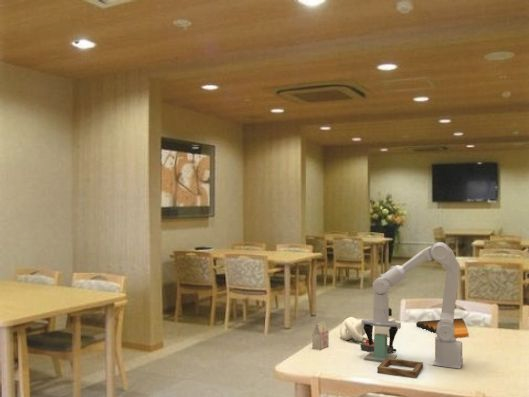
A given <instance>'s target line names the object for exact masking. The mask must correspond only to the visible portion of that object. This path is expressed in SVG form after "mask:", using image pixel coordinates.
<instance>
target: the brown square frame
mask: <svg viewBox="0 0 529 397" xmlns="http://www.w3.org/2000/svg"><path fill="white" fill-rule="evenodd" d="M390 366H394V367H390ZM395 366H396V367H397V368H396V367H395ZM398 367H402V368H398ZM403 367H404V368H403ZM405 368H410V369H405ZM423 368H424V362H422V361H416V360H415V361H413V360H407V359H399V358H395V359H392V358H386V359H385V360H384V361H383V362H380V363H379V365H377V374H382V375H388V376H389V375H391V376H396V377H405V378H410V379H411V378H413V379H417V377H418V376H419V375H420V373H421V372H422V370H423ZM411 369H412V370H411Z"/></svg>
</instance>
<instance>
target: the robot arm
mask: <svg viewBox="0 0 529 397" xmlns="http://www.w3.org/2000/svg"><path fill="white" fill-rule="evenodd" d="M433 259H434V260H435V261H436V262H438V263H439V264H440V265H442V267H443V268H444V269H445V271H446V273H445V282H444V287H443V288H444V290H443V295H442V305H441V312H440V318H439V320H440V321H439V322H438V323H437V329H436V334H435V335H436V336H435V337H434V344H435V345H434V346H435V348H434V353H435V354H434V361H433V363H432V366H435V367H436V366H437V367H443V368H452V369H461V367H462V365H463V361H464V359H463V341H459V340H457V338H455V337H454V335H455V331H454V329H455V327H454V324H453V320H454V319H455V311H456V310H455V309H456V302H457V301H456V300H457V294H458V286H459V279H460V278H459V277H460V270H461V266H460V263H459V261H458V259H457V257H456V255H455V254H454V251H453V250H452V249H451V247H449V245H448V244H446V243H445V242H442V241H437V242H436V243H435V242H434V244H432V245H430V246H428V247H425V248H424V249H423V250H421V251H419V252H418V253H417V254H415V255H413V256H412V257H411V258H410V259H409V260H407V261H406V262H405V263H403V264H402V265H399V264H396V265H392V266H391V267H390V269H389V270H387V271H386V272H385V273H381V274H379V276H380V277H377V278H376V279H375V280H374V281H373V283H372V289H373V293H372V294H373V297H372V319H369V318H368V319H367V318H366V319H365V318H362V319H360V320H361V325H364V327H363V328H364V330H365V332H366V333H365V335H366V337H367V340H368V341H369V345H372V342H374V341H373V340H374V339H373V333H374V332H373V331H374V330H373V329H374V326H380V327H390V329H389V337H388V338H389V341H388V342H389V343H388V345H389V347H390V348H392V346H393V344H394V341H395V337H396V335H397V333H398V331H399V330H400V329H401V327H402V325H401V324H402V323H401V322H397V321H395V322H392V321H389V308H390V306H389V304H390V303H389V300H390V298H389V289H390V288H393V287H394V286H396V285H397V284H399V283H400V282H402V281H403V280H405V279H406V277H407V273H408V272H410V271H411V270H413V269H414V268H416V267H417V266H419V265H420V264H421V263H422V264H423V262H430V261H432V260H433ZM372 339H373V340H372ZM393 347H394V346H393Z"/></svg>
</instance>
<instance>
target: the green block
mask: <svg viewBox="0 0 529 397" xmlns="http://www.w3.org/2000/svg"><path fill="white" fill-rule="evenodd" d="M373 340H374V341H373V342H374V357H379V358H385V357H386V356H387V345H388V337H387V334H379V333H377V334H375V335H374V334H373Z"/></svg>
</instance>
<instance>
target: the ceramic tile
mask: <svg viewBox="0 0 529 397" xmlns="http://www.w3.org/2000/svg"><path fill="white" fill-rule="evenodd" d="M386 358H392V359H397V358H398V354H395V353H391V354H388V353H387V356H386V357H385V358H379V357H374V352H368V354H366V355H365V356H364V358H363V360H364V361H369V362H377V363H382V362H383V361H384V360H385V359H386Z"/></svg>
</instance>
